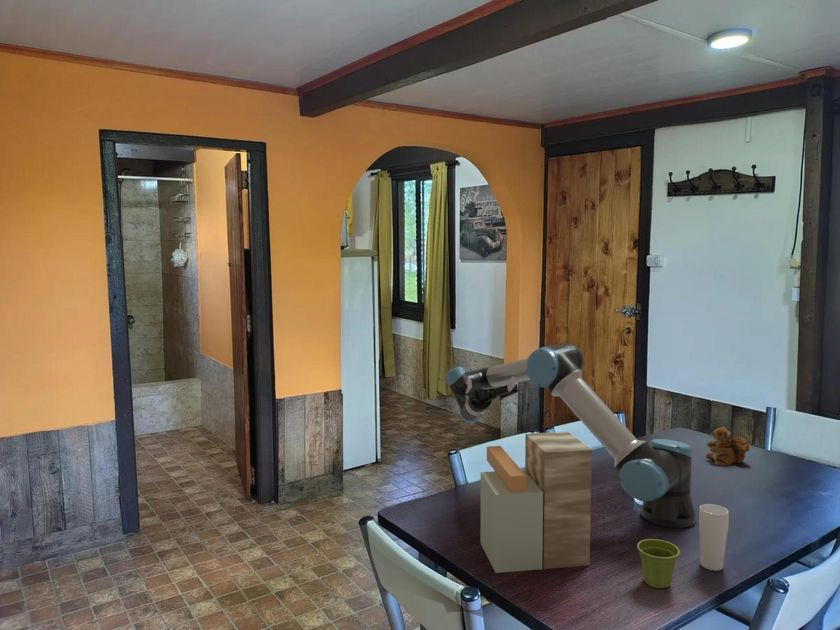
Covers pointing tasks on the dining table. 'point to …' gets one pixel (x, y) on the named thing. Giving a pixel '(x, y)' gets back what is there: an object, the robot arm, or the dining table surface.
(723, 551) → the drinking glass
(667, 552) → the plant pot
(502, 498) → the sage green pillar
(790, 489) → the dining table surface
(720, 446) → the stuffed squirrel
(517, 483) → the orange bar
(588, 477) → the tall stand
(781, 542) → the dining table surface
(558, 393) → the robot arm
